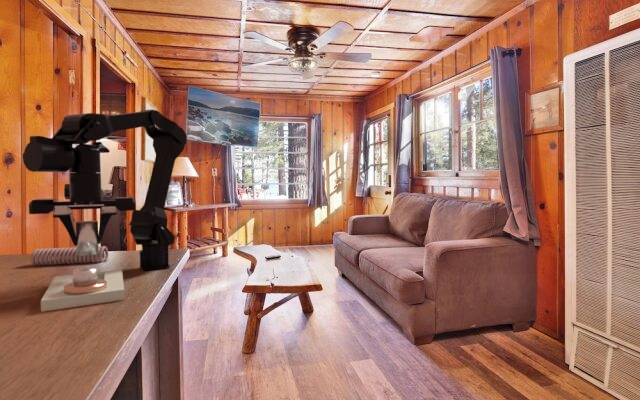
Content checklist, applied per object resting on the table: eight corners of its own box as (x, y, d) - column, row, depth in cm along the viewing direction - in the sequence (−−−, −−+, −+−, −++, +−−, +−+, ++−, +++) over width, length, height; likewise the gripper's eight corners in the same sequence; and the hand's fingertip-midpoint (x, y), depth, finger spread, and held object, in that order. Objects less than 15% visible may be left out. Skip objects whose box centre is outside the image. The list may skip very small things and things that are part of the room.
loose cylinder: (99, 251, 80) (98, 220, 79) (98, 254, 76) (97, 222, 76) (77, 252, 78) (76, 221, 77) (76, 256, 74) (74, 223, 74)
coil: (28, 251, 94) (104, 248, 99) (37, 246, 98) (109, 244, 104) (30, 268, 95) (105, 264, 100) (38, 262, 99) (110, 259, 104)
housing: (122, 277, 85) (121, 269, 85) (124, 299, 69) (124, 289, 69) (55, 285, 78) (54, 276, 78) (41, 311, 63) (40, 300, 63)
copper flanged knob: (106, 282, 74) (106, 263, 74) (106, 291, 68) (105, 270, 68) (66, 287, 71) (65, 267, 70) (61, 297, 65) (61, 275, 64)
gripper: (132, 173, 87) (134, 235, 88) (37, 172, 78) (40, 242, 79) (134, 173, 78) (136, 243, 79) (26, 172, 68) (30, 251, 69)
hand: (87, 244), depth 77 cm, fingers closed on loose cylinder, 4 cm apart
